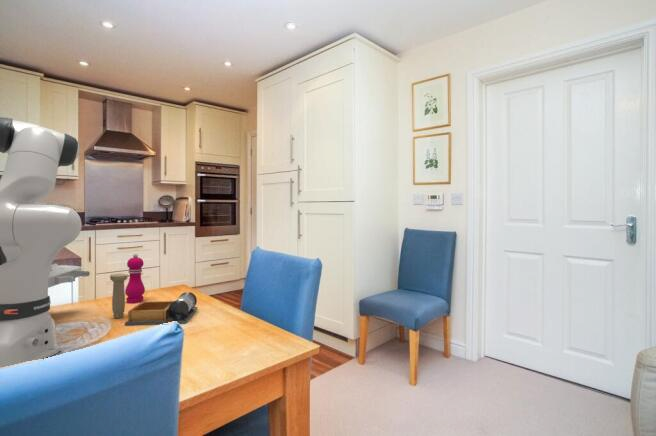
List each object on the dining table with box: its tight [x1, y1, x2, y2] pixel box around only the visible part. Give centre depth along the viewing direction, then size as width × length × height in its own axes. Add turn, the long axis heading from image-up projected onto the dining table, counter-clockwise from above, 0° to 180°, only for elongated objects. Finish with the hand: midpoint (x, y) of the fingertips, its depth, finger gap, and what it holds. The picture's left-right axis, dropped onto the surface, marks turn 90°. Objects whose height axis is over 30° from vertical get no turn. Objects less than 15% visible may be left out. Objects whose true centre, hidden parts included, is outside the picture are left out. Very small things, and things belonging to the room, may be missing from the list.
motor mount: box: [124, 291, 198, 327], centre depth 124 cm, size 18×19×7 cm
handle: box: [109, 273, 129, 319], centre depth 123 cm, size 5×6×15 cm
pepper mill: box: [124, 253, 146, 304], centre depth 145 cm, size 7×7×20 cm
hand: (81, 276), depth 121 cm, fingers open, 8 cm apart
